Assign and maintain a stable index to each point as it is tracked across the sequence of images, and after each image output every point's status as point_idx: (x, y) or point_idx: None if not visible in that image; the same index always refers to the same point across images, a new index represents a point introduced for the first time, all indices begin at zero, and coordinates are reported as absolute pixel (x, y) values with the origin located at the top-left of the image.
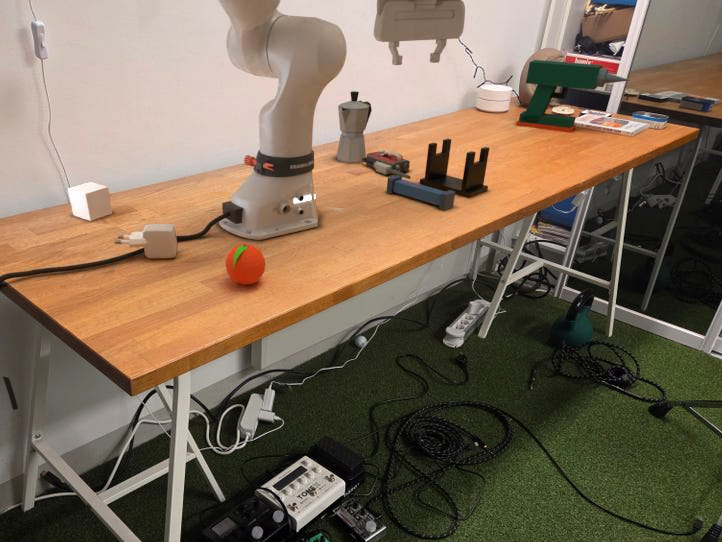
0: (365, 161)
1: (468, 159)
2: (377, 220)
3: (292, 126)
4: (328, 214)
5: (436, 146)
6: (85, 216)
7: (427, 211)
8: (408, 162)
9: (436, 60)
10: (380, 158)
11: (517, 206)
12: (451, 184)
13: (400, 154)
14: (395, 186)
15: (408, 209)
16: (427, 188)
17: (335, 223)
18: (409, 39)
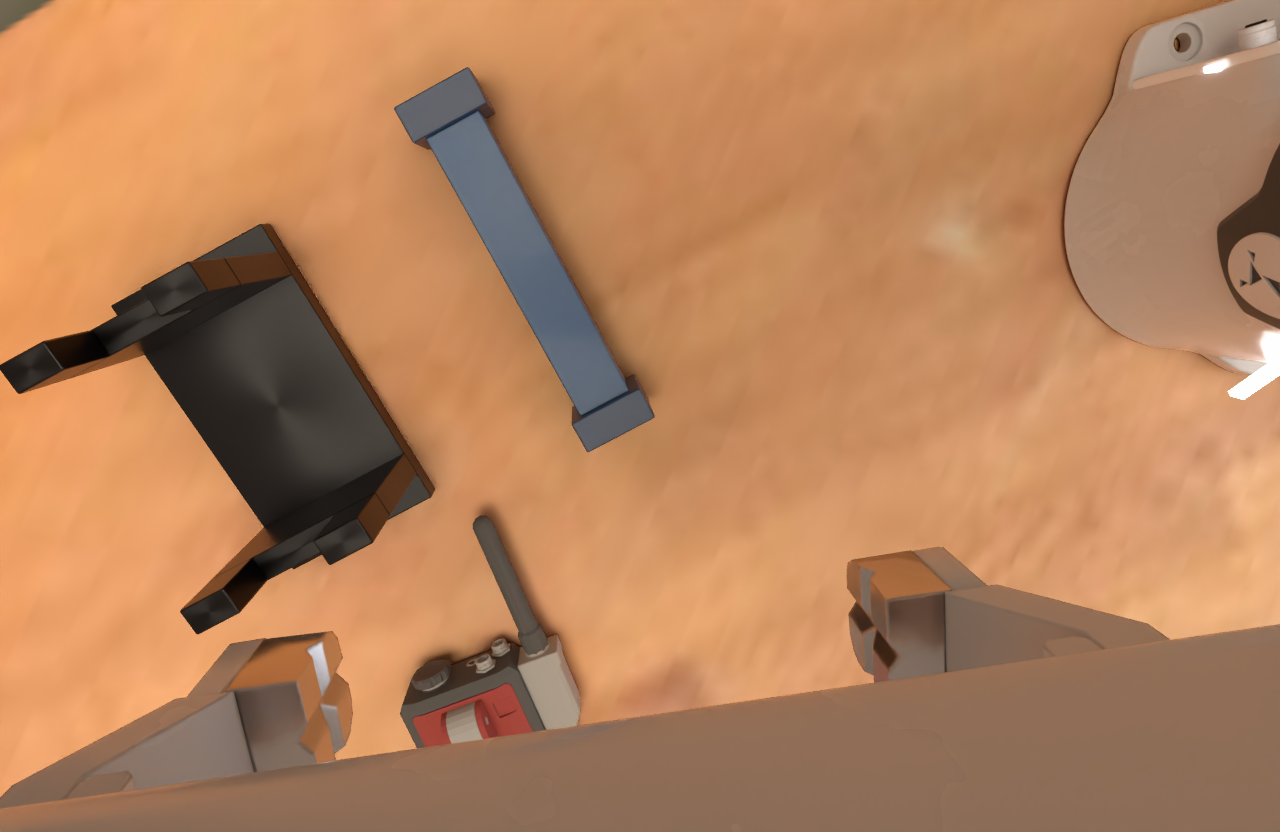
0: None
1: (213, 268)
2: (844, 41)
3: None
4: (1019, 182)
5: (323, 531)
6: None
7: (564, 92)
8: (410, 700)
9: (281, 642)
10: None
11: (63, 30)
12: (302, 376)
13: (445, 742)
14: (621, 374)
15: (642, 146)
16: (506, 232)
17: (1037, 60)
18: (919, 679)
